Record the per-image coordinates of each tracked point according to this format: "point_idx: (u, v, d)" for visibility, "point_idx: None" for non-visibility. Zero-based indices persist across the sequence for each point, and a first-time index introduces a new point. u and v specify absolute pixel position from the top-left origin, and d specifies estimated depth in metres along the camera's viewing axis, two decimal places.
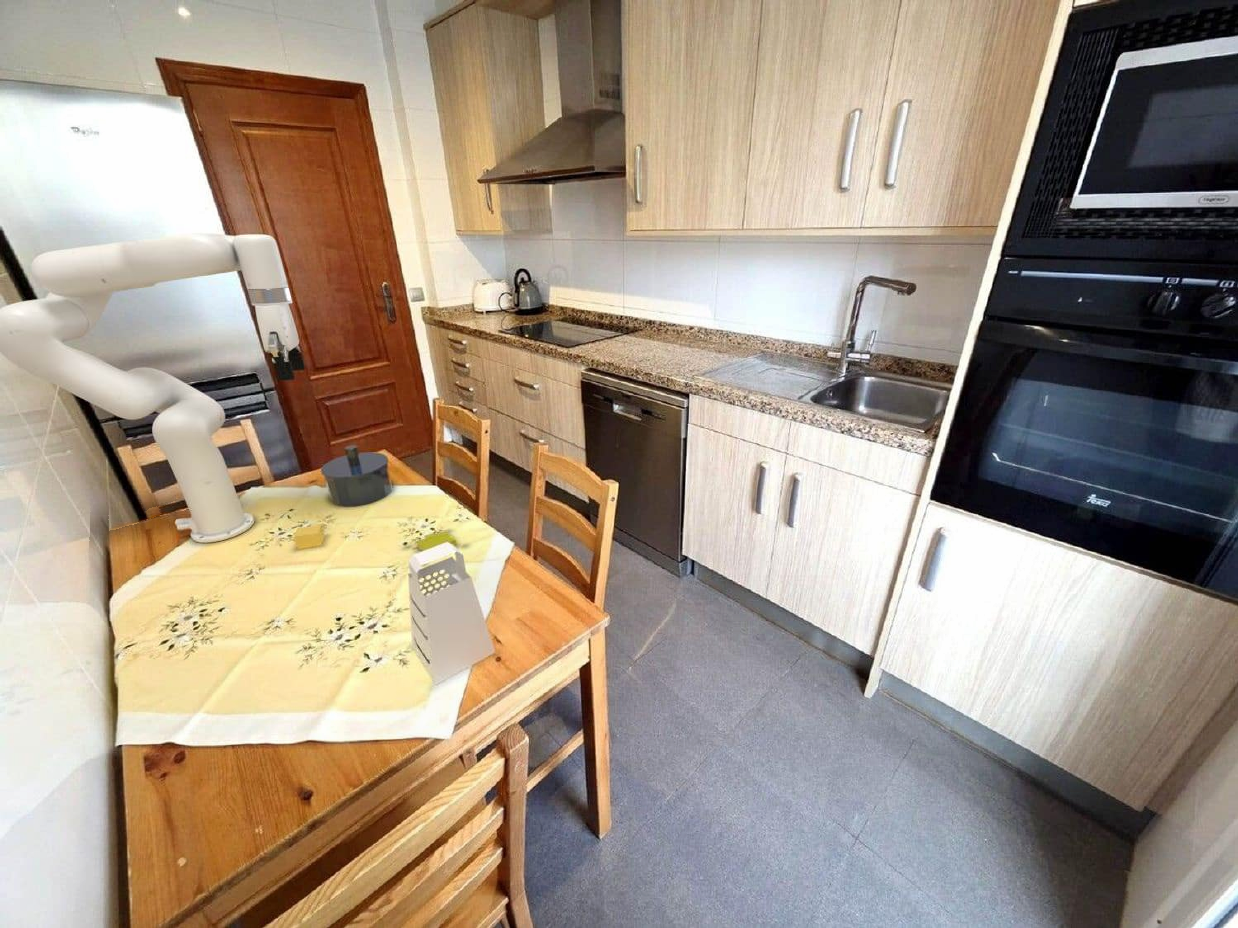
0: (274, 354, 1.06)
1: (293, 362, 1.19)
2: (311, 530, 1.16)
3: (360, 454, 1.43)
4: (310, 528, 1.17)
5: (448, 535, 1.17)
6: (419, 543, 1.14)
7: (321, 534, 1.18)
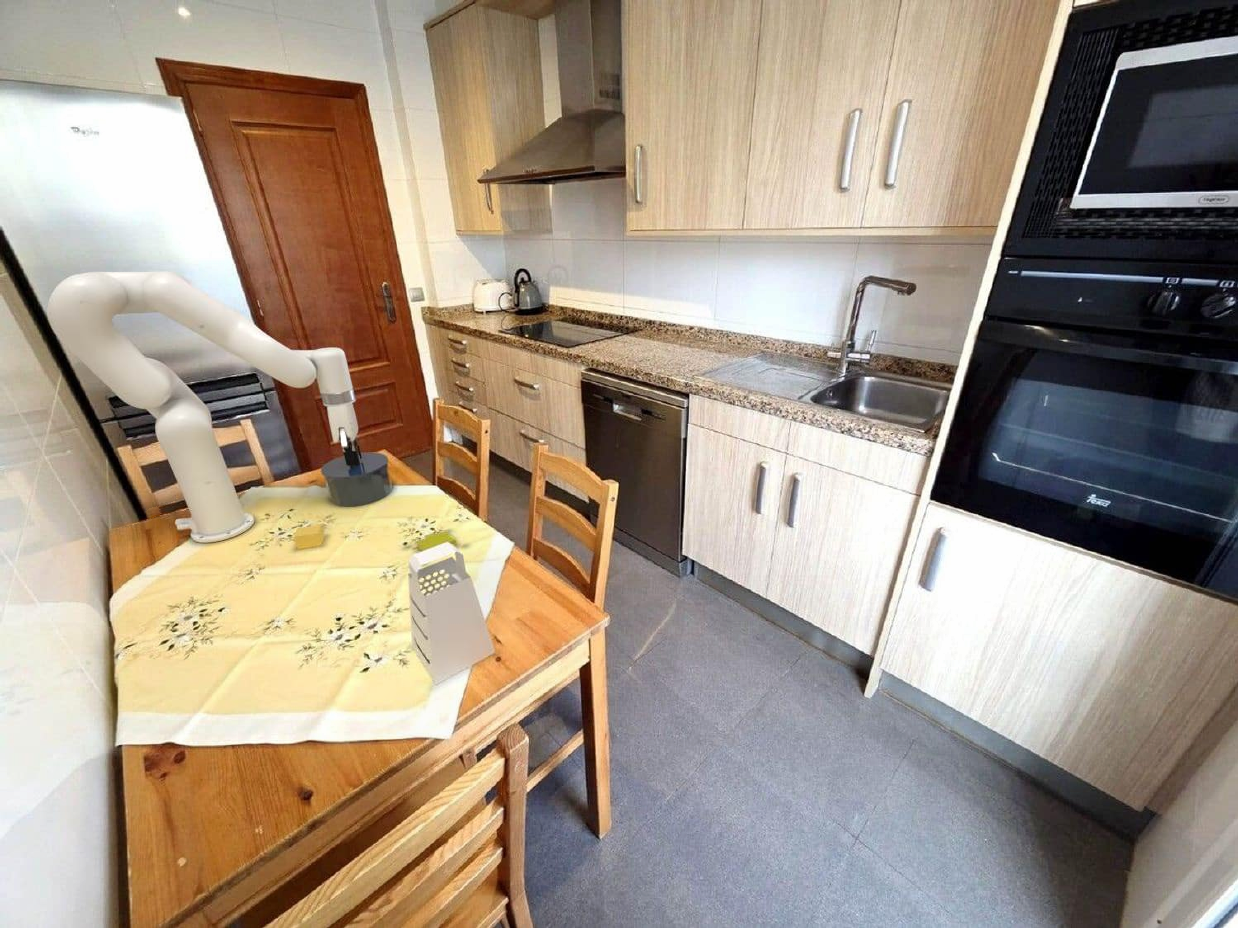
0: (346, 448, 1.30)
1: None
2: (311, 530, 1.16)
3: None
4: (310, 528, 1.17)
5: (448, 535, 1.17)
6: (419, 543, 1.14)
7: (321, 534, 1.18)
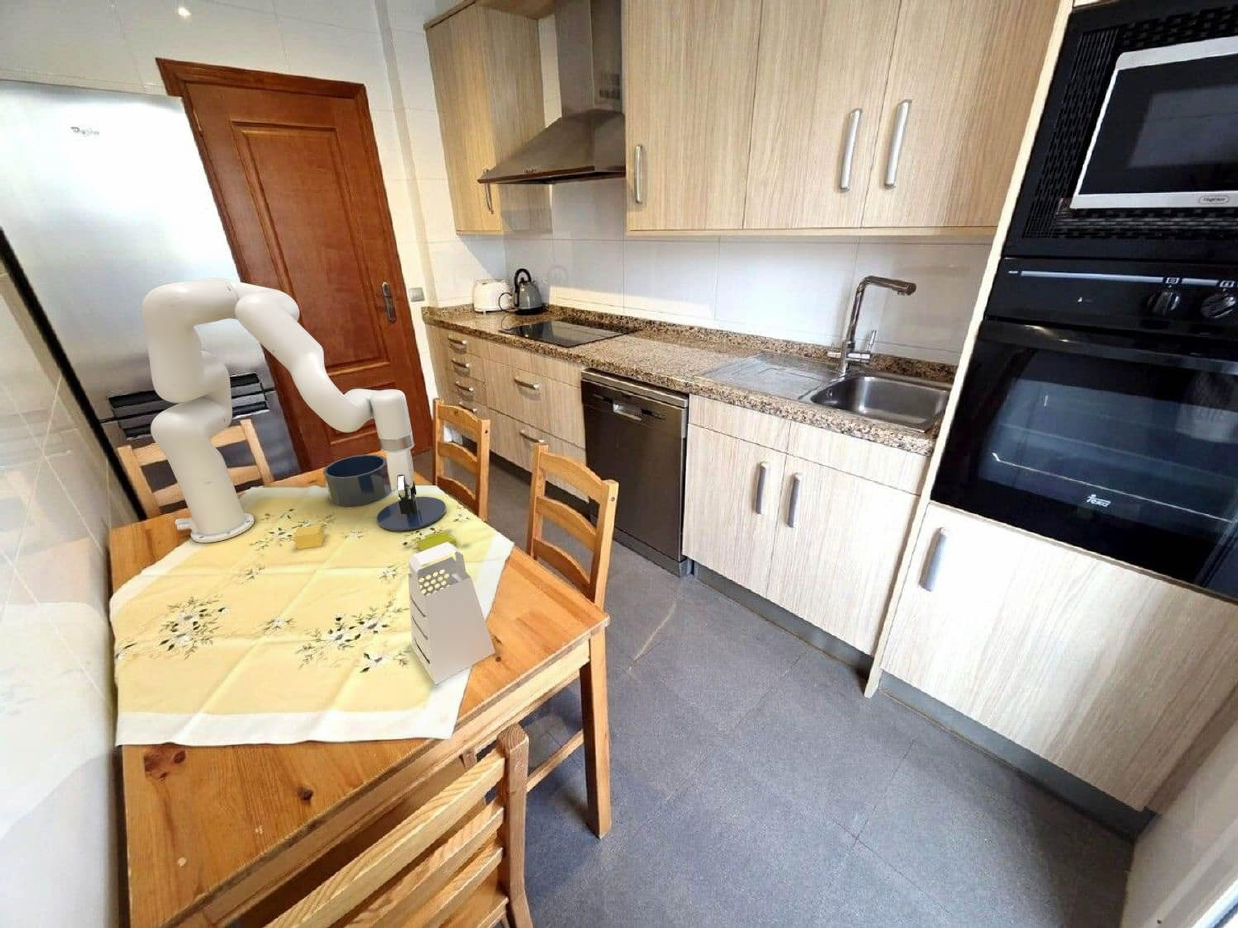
0: (402, 495, 1.18)
1: (407, 489, 1.31)
2: (311, 530, 1.16)
3: None
4: (310, 528, 1.17)
5: (448, 535, 1.17)
6: (419, 543, 1.14)
7: (321, 534, 1.18)
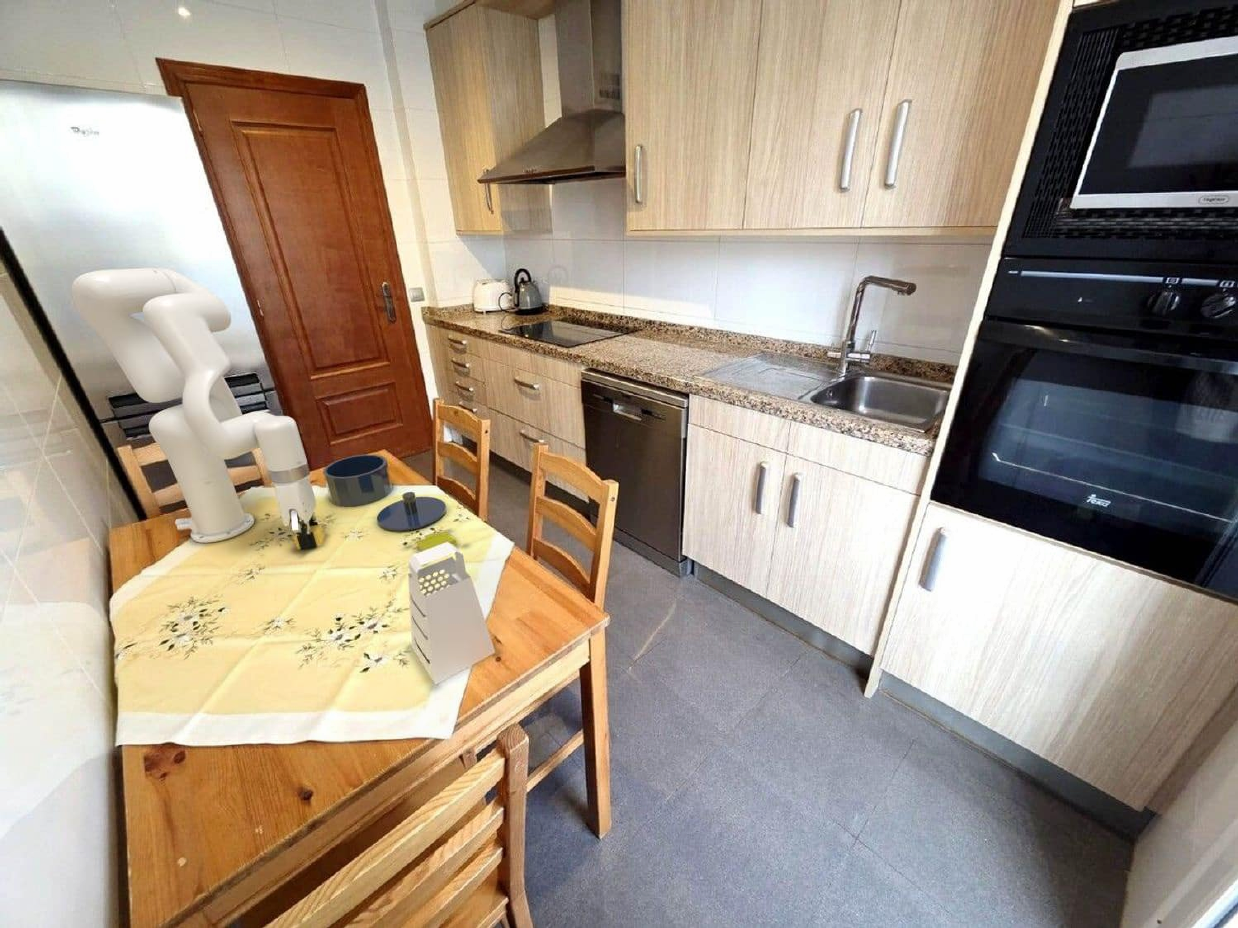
0: (298, 532, 1.11)
1: None
2: (311, 530, 1.16)
3: None
4: (310, 528, 1.17)
5: (448, 535, 1.17)
6: (419, 543, 1.14)
7: (321, 534, 1.18)
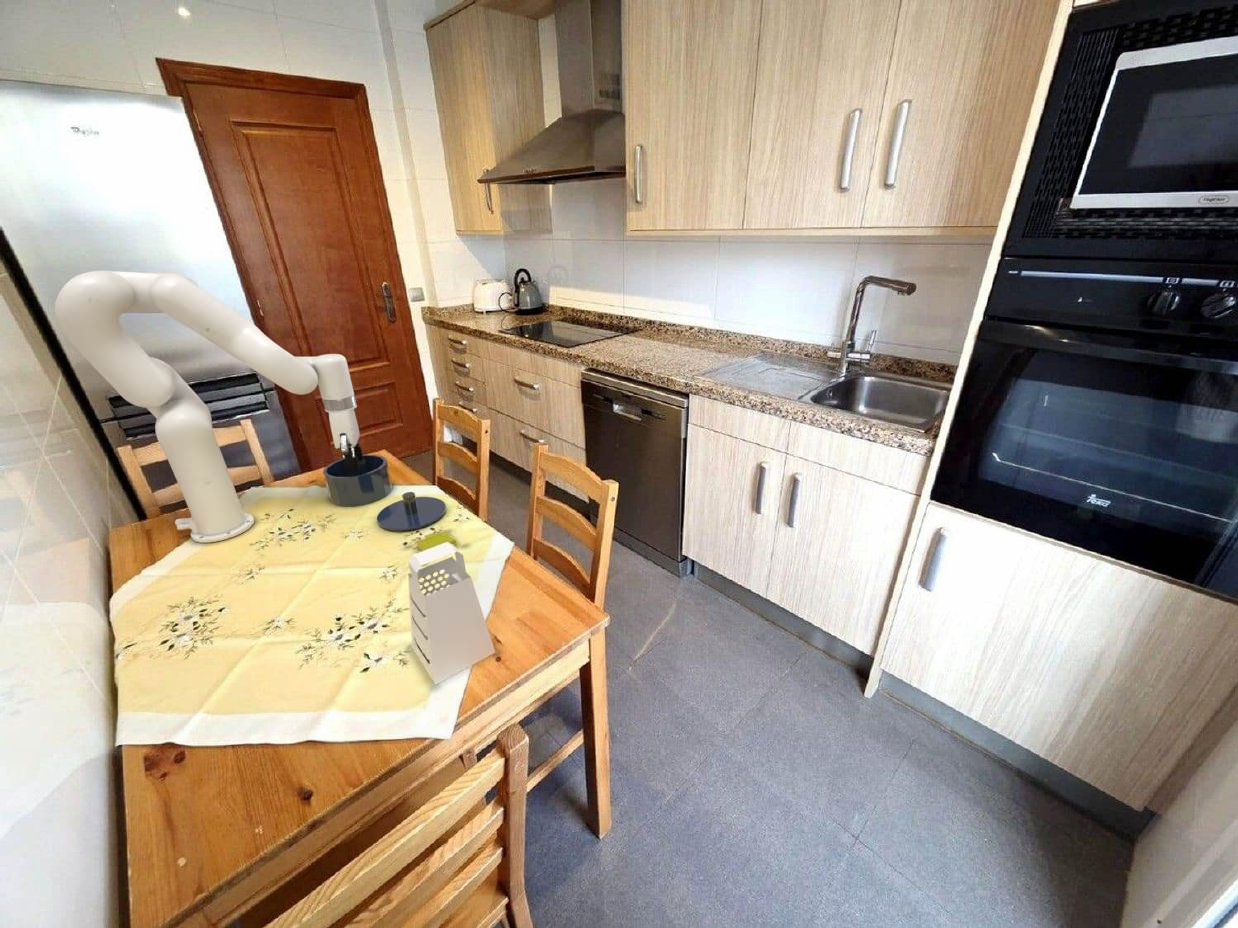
0: (345, 454, 1.29)
1: None
2: None
3: None
4: None
5: (448, 535, 1.17)
6: (419, 543, 1.14)
7: None
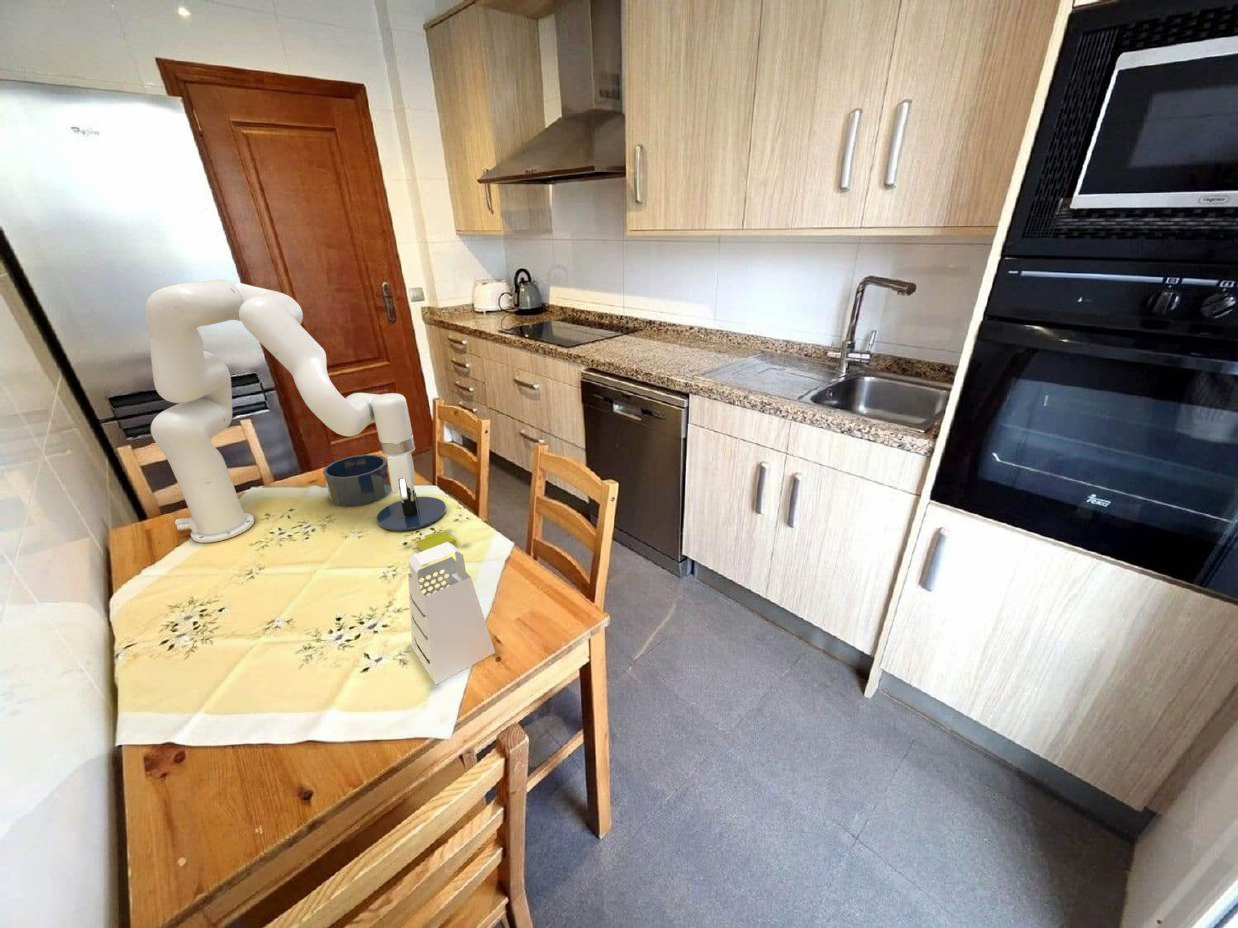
0: (405, 499, 1.22)
1: None
2: None
3: None
4: None
5: (448, 535, 1.17)
6: (419, 543, 1.14)
7: None
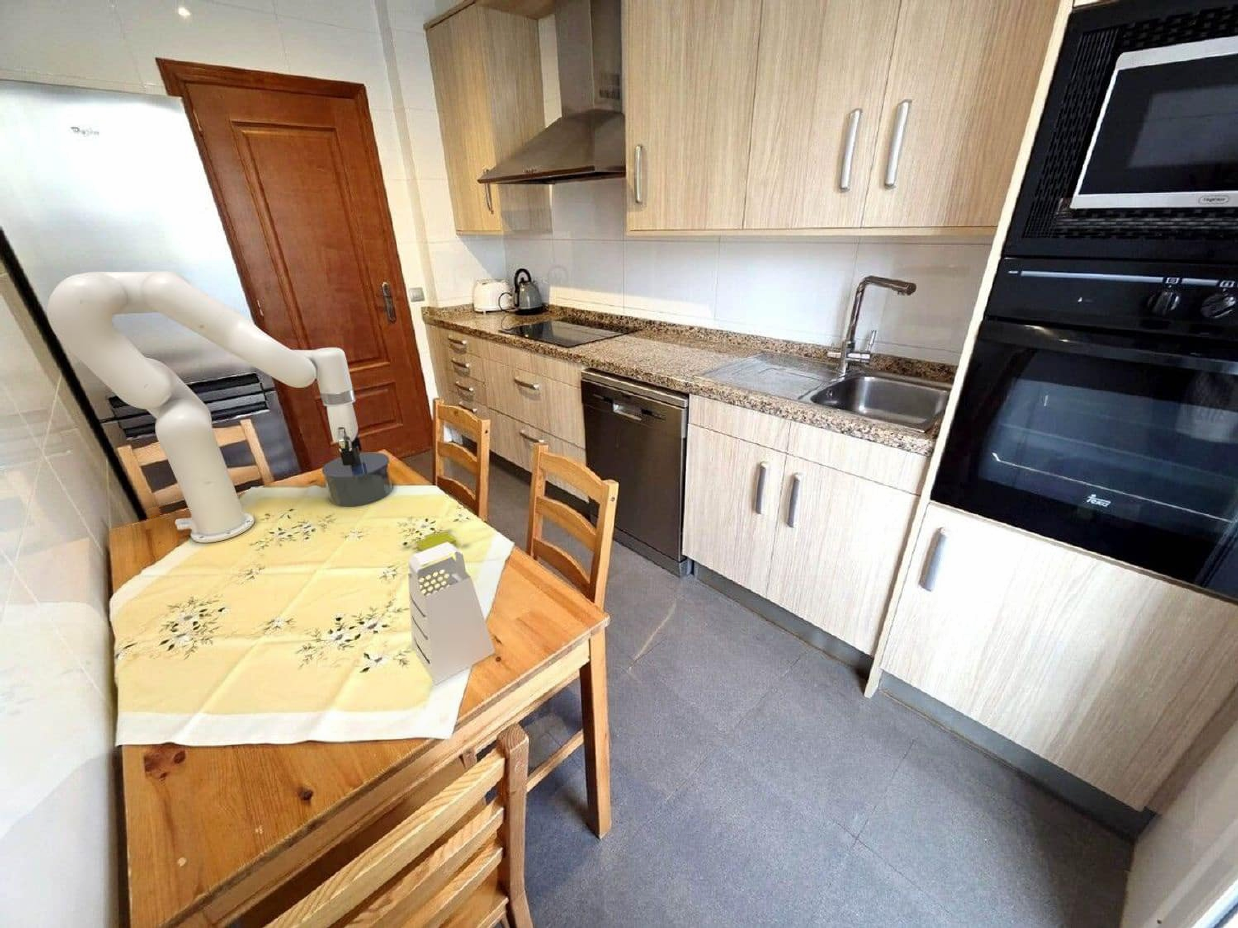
0: (342, 446, 1.27)
1: None
2: None
3: (361, 454, 1.44)
4: None
5: (448, 535, 1.17)
6: (419, 543, 1.14)
7: None
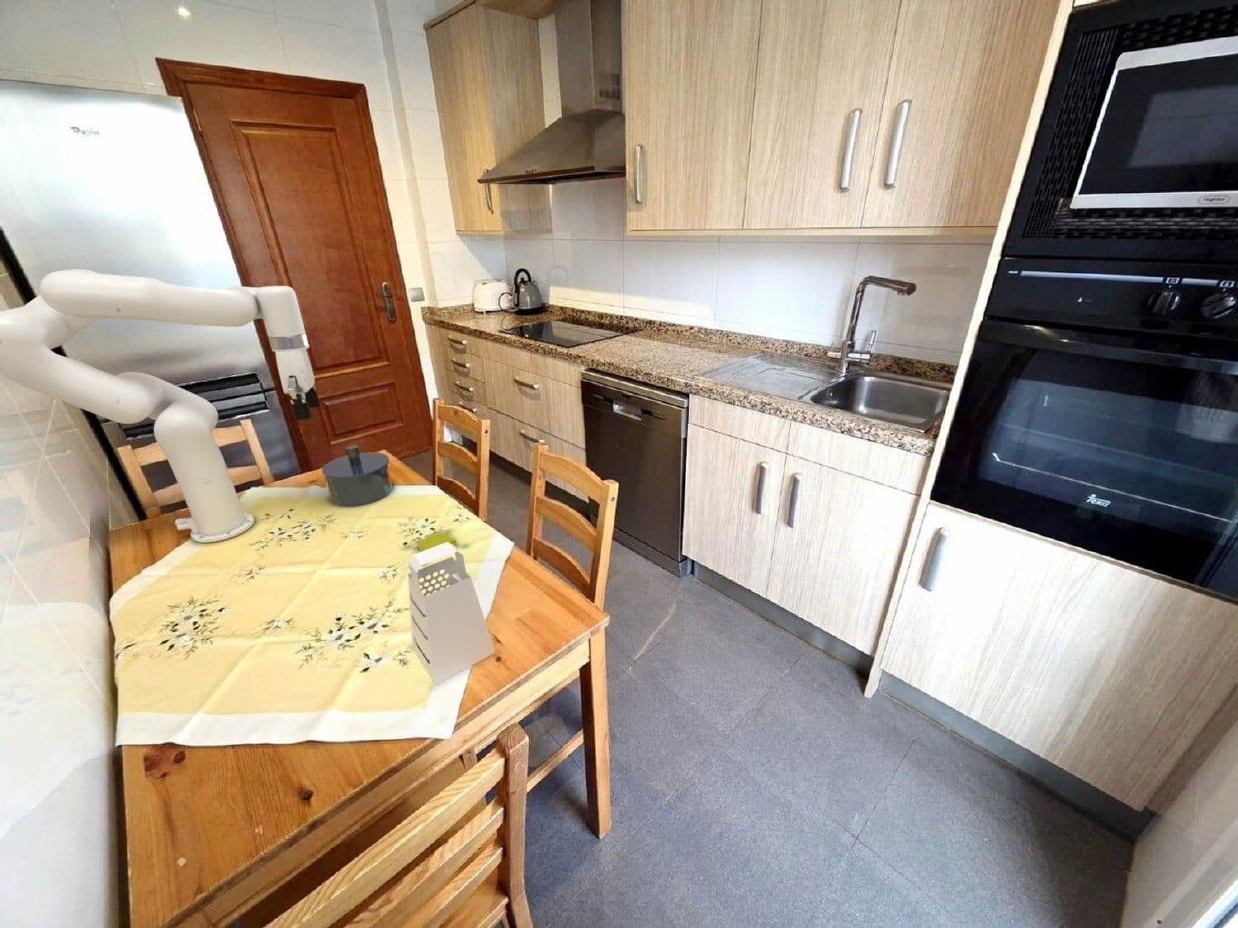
0: (293, 396, 1.14)
1: (309, 400, 1.26)
2: None
3: (361, 454, 1.44)
4: None
5: (448, 535, 1.17)
6: (419, 543, 1.14)
7: None
